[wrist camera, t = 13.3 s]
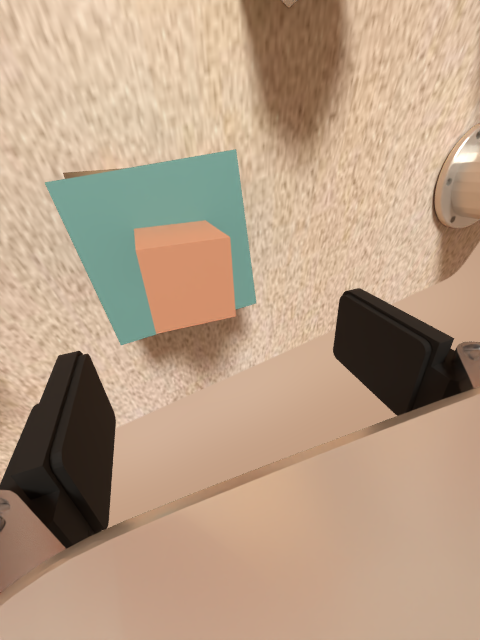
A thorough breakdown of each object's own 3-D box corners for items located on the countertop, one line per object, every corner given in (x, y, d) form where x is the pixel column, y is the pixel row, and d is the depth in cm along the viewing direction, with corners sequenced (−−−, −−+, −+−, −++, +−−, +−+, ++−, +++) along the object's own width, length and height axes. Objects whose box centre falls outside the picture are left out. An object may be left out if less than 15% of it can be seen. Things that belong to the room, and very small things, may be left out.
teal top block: (219, 152, 22) (236, 149, 19) (241, 287, 28) (256, 303, 25) (58, 180, 19) (44, 182, 16) (121, 322, 26) (121, 345, 22)
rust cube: (205, 220, 20) (230, 237, 15) (212, 283, 23) (235, 316, 18) (133, 228, 19) (135, 250, 14) (149, 295, 21) (156, 333, 16)
